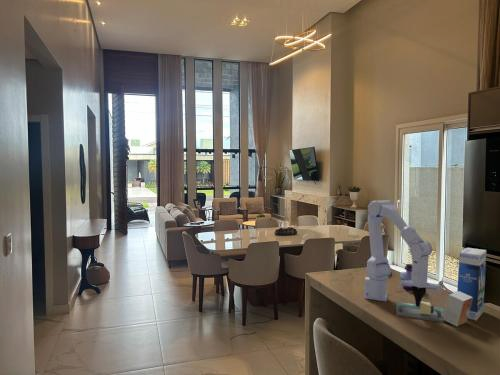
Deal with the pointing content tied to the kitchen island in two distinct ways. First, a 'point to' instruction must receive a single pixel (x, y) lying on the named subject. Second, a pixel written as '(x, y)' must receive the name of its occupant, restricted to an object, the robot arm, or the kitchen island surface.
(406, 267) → the potion bottle
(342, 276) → the kitchen island surface
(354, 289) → the kitchen island surface
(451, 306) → the small box
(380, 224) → the robot arm
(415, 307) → the teal rod on plate
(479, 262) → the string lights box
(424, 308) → the sleeve
